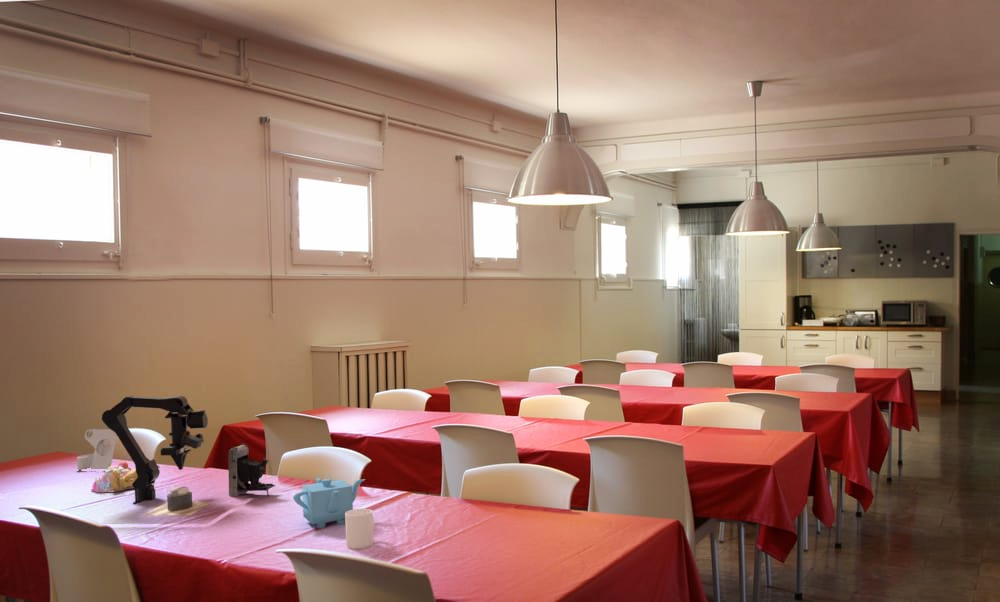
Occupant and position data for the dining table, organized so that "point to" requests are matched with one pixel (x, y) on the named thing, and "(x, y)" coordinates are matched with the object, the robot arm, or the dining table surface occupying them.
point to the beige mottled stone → (179, 491)
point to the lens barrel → (179, 502)
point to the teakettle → (327, 500)
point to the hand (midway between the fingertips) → (180, 469)
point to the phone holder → (98, 450)
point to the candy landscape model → (115, 479)
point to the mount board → (164, 510)
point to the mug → (359, 528)
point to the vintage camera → (245, 472)
